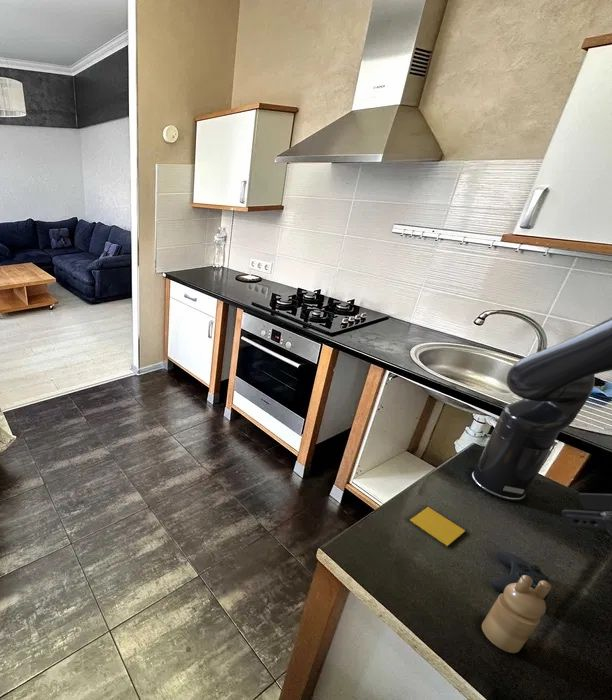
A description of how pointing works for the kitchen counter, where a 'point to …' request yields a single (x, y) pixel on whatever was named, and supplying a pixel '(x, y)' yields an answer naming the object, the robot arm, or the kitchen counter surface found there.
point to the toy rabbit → (516, 614)
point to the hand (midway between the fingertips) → (572, 509)
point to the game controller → (517, 572)
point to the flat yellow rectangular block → (437, 526)
